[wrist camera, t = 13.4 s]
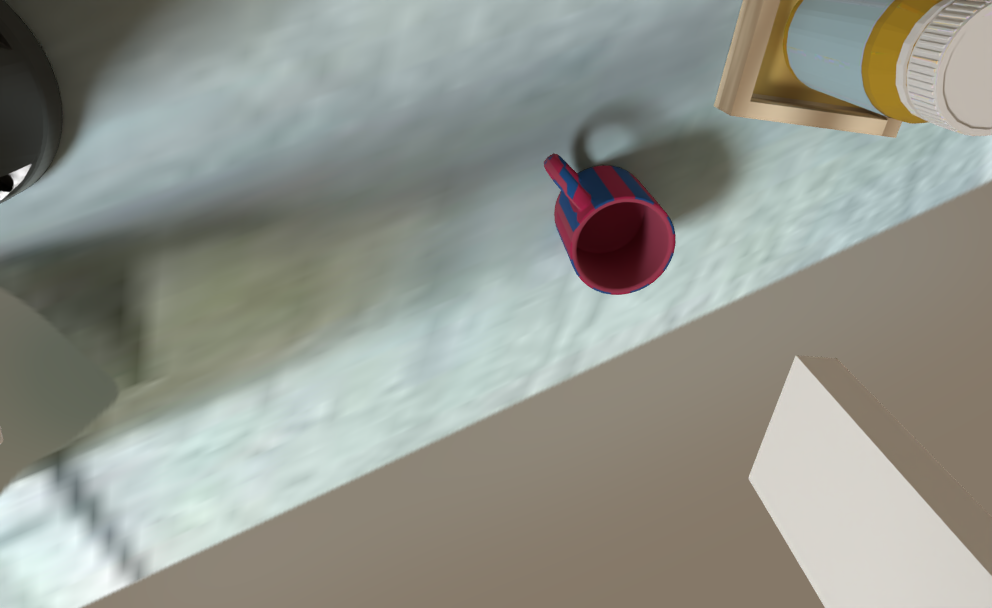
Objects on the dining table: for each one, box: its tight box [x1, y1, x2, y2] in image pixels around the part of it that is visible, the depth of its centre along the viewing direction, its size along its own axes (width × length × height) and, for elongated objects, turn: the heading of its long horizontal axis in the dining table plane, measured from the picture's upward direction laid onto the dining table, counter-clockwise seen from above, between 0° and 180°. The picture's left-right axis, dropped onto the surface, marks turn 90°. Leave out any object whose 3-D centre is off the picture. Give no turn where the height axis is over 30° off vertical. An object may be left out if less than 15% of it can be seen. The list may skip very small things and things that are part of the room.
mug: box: [544, 154, 675, 295], centre depth 46 cm, size 7×10×7 cm
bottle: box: [783, 0, 992, 136], centre depth 37 cm, size 7×7×15 cm
